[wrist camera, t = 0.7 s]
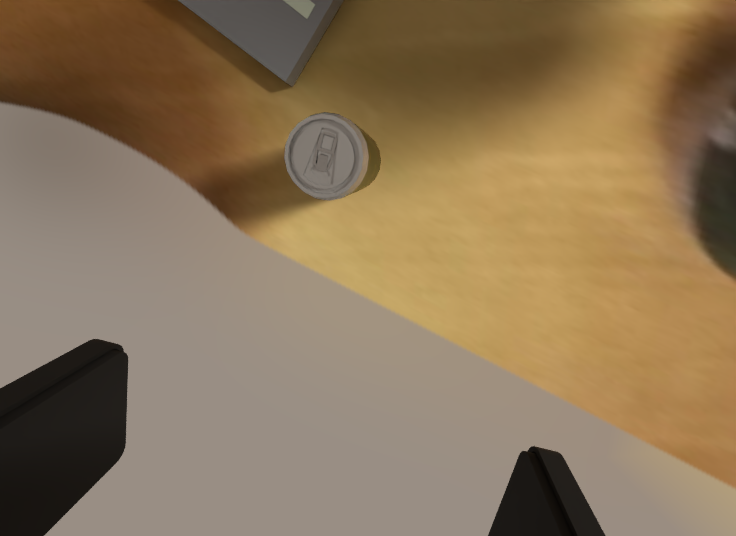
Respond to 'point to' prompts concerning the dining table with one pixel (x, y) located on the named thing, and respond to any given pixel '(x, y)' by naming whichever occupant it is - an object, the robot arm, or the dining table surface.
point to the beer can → (331, 156)
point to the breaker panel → (271, 29)
